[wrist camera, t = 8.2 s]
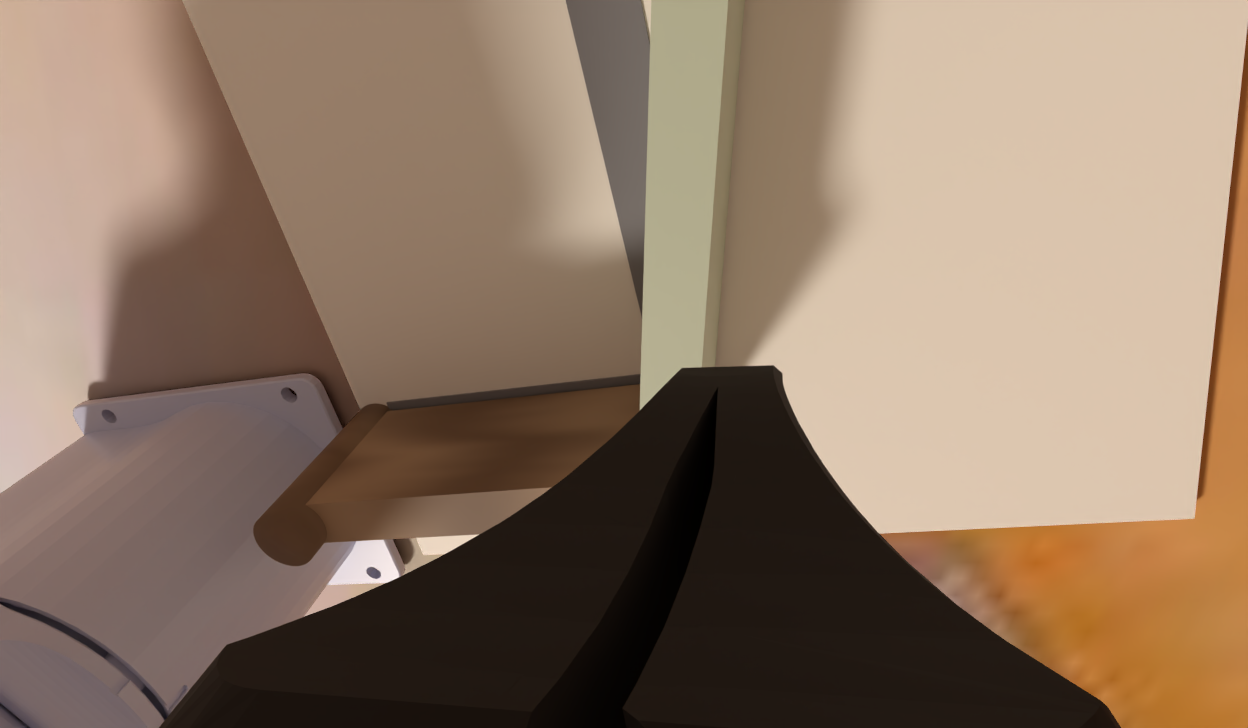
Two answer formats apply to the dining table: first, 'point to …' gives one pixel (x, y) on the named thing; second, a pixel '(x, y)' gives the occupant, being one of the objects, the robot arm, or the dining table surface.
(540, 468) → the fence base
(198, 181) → the dining table surface
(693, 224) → the fence panel
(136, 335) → the dining table surface
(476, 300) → the card
